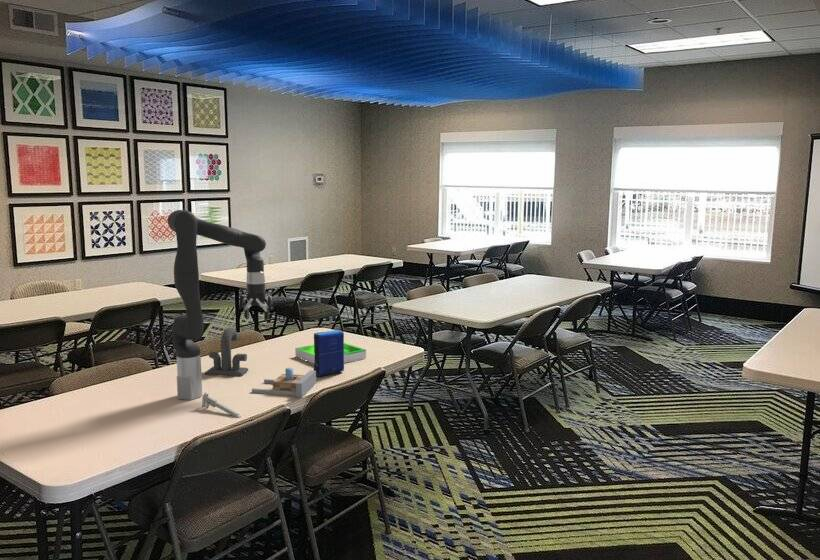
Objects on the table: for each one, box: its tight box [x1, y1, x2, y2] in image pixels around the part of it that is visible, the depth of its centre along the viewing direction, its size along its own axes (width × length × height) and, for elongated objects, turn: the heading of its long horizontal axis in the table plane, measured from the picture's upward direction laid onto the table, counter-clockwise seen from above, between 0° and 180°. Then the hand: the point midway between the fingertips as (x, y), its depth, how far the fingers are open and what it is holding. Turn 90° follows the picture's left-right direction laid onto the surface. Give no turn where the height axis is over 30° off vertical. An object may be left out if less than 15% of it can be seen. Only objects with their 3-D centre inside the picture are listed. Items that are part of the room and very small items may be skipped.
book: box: [313, 329, 345, 377], centre depth 291 cm, size 14×5×20 cm, turn 126°
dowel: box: [284, 367, 294, 380], centre depth 271 cm, size 3×3×9 cm
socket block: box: [272, 373, 305, 391], centre depth 271 cm, size 11×11×4 cm
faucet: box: [204, 327, 249, 377], centre depth 296 cm, size 18×16×20 cm
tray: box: [294, 342, 367, 364], centre depth 319 cm, size 25×25×5 cm
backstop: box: [251, 369, 317, 399], centre depth 271 cm, size 18×22×6 cm
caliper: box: [201, 392, 242, 418], centre depth 244 cm, size 20×1×6 cm, turn 57°
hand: (256, 319), depth 276 cm, fingers open, 8 cm apart
